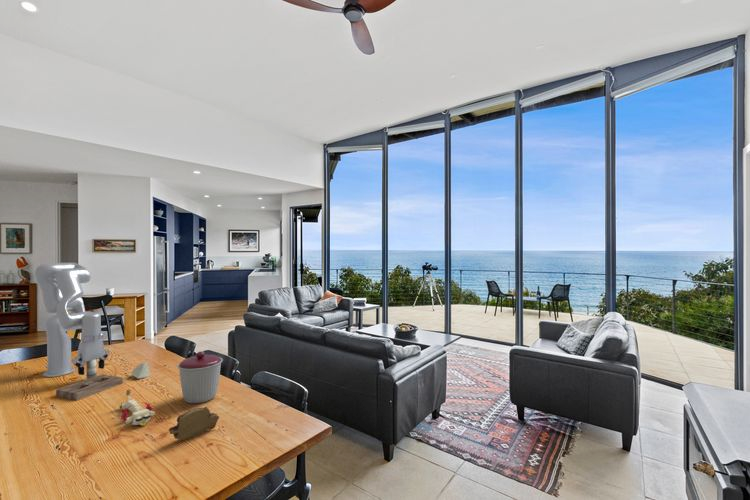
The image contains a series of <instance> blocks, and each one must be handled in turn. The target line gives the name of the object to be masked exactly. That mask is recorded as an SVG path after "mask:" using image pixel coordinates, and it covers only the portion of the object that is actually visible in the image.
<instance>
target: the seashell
mask: <svg viewBox="0 0 750 500" xmlns="http://www.w3.org/2000/svg"><path fill="white" fill-rule="evenodd" d="M131 375H132V376H133V377H135V378H136V379H143V378H147V377H149V376H150V367H149V364H147V362H142V363H139V364H138V365H137V366H136V367H135V368H134V369H133V370H132V371H131Z"/></svg>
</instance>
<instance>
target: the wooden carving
mask: <svg viewBox="0 0 750 500" xmlns="http://www.w3.org/2000/svg"><path fill="white" fill-rule="evenodd" d="M219 418H220V416H219V414H217V413H214V412H211V411H210V410H209V407H207V406H205V407H195V408H193V409H189V410H187V411H185V412H184V413H182V414H181V415H179V416H177V419H176V422H177V424H176V425H175V426H171V427H169V429H168V431H169V434H171V435H173V437H174V439H175V440H192V439H193V438H196V437H199V436H201V435H202V434H203V433H205V432H206V431H207V430H212V429H214V428H216V426H217V423H218V420H219Z"/></svg>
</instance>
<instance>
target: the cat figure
mask: <svg viewBox="0 0 750 500" xmlns="http://www.w3.org/2000/svg"><path fill="white" fill-rule="evenodd" d="M126 399H127V401H126V402H125V401H121V402H120V405H119V406H118V407H119V409H121V410H123V412H122V416H120V418H121V420H123V422H124V421H125V424H130V426H138V425H140V427H142V426H145V425H147V424H148V422H150V421H151V417H154V415H156V411H153V407H152V406H151V404H150V403H148V402H144V401H142V404H144V405H146V406H145V408H143V407H142V406H141V405H140V404H139V403H138V401H136V400H135V398H133V399H132V397H131V389H127V390H126ZM128 411H129V412H131V413H132V414H131V416H129V417H127V416H128V415H129V412H128Z"/></svg>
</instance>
